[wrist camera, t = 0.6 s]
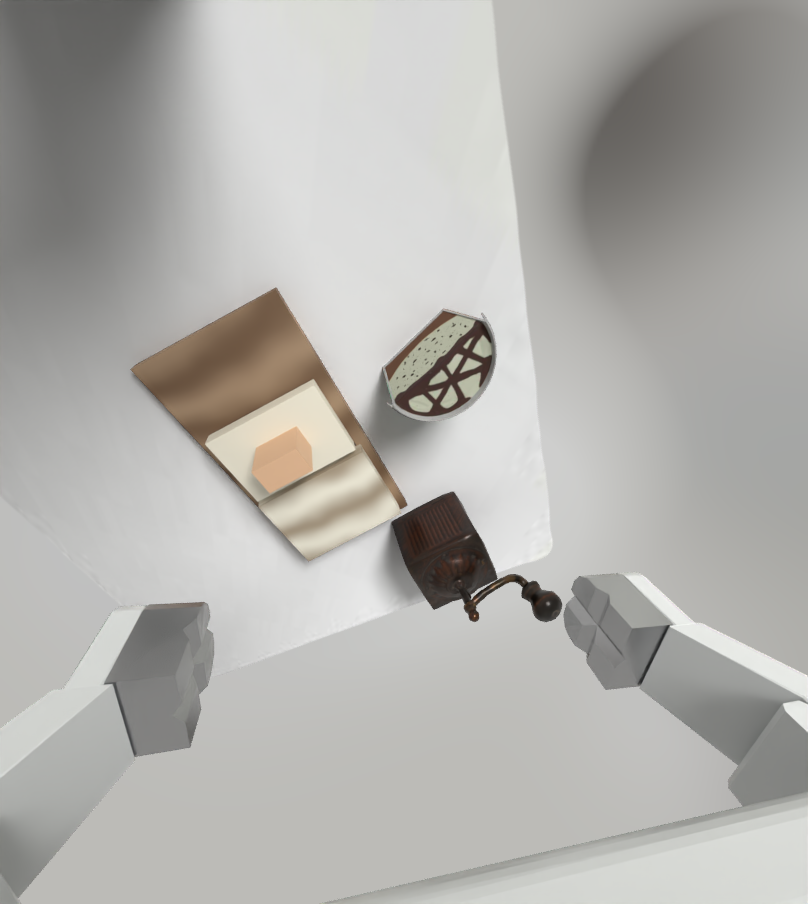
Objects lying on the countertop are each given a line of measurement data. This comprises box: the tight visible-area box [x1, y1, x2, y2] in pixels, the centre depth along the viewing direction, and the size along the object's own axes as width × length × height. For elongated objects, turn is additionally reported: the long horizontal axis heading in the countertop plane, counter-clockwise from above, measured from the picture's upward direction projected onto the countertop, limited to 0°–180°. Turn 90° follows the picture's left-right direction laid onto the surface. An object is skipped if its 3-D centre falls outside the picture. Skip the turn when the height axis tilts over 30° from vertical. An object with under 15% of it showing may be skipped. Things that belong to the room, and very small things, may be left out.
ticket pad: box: [130, 288, 407, 561], centre depth 45 cm, size 31×16×4 cm, turn 25°
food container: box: [382, 309, 497, 421], centre depth 41 cm, size 12×6×10 cm, turn 131°
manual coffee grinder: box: [392, 492, 562, 622], centre depth 52 cm, size 16×11×18 cm
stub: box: [205, 379, 356, 502], centre depth 42 cm, size 9×13×7 cm
